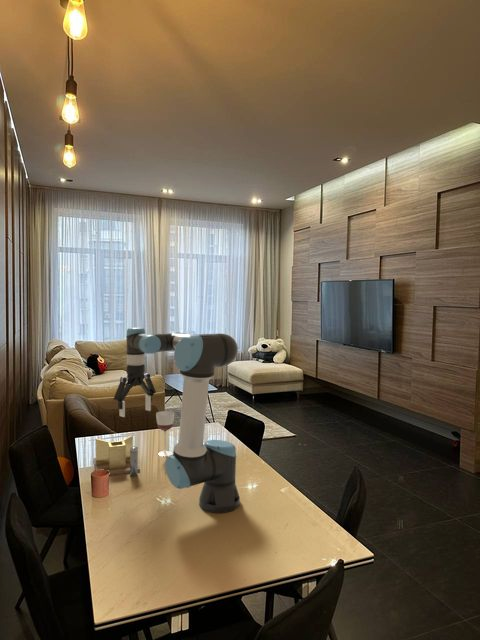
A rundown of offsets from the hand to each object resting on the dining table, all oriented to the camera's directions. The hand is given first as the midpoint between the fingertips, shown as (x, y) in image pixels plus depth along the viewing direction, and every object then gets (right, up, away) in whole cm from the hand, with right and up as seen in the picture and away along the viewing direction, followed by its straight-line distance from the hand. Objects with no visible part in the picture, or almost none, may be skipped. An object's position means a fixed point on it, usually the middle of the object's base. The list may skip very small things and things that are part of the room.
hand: (135, 413), depth 190 cm
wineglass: (+8, -26, +27) cm, 38 cm away
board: (-11, -26, +11) cm, 30 cm away
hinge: (-11, -25, +11) cm, 29 cm away
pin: (-1, -27, +1) cm, 27 cm away
